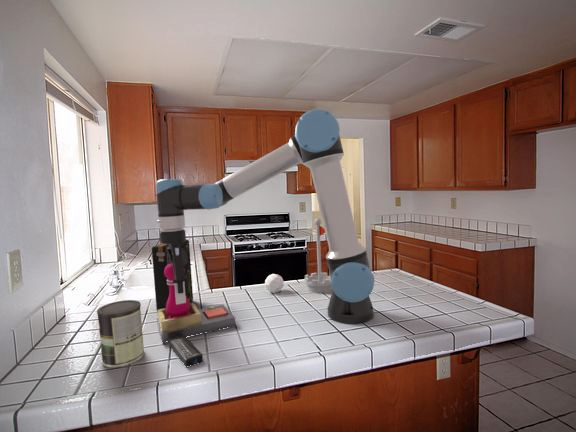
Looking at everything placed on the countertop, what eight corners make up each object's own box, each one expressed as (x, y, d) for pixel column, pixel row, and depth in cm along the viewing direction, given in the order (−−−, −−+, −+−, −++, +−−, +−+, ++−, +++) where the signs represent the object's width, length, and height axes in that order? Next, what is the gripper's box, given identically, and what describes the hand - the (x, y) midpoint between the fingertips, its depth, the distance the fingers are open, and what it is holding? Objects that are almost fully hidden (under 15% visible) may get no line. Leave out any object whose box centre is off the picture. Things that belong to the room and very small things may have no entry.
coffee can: (94, 369, 83) (89, 315, 82) (112, 350, 94) (107, 301, 92) (136, 366, 84) (132, 312, 83) (150, 347, 94) (146, 298, 93)
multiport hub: (185, 343, 97) (184, 335, 97) (203, 363, 85) (203, 354, 85) (170, 347, 94) (169, 340, 94) (186, 369, 82) (185, 360, 82)
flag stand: (298, 289, 141) (295, 219, 139) (319, 282, 150) (316, 216, 148) (321, 295, 132) (318, 220, 129) (342, 287, 141) (339, 217, 138)
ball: (279, 299, 138) (284, 287, 134) (261, 293, 138) (265, 280, 133) (282, 285, 144) (287, 273, 140) (265, 279, 144) (269, 267, 140)
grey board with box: (235, 326, 106) (234, 308, 105) (162, 343, 96) (160, 323, 96) (223, 312, 118) (222, 296, 118) (157, 326, 109) (156, 308, 108)
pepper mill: (169, 327, 100) (162, 262, 98) (165, 319, 106) (159, 258, 105) (193, 321, 103) (187, 258, 102) (189, 314, 110) (182, 254, 108)
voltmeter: (175, 315, 118) (170, 245, 116) (153, 314, 120) (147, 246, 118) (196, 300, 133) (191, 238, 131) (176, 299, 135) (171, 238, 133)
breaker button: (227, 321, 109) (226, 312, 108) (209, 325, 106) (208, 316, 106) (222, 315, 114) (221, 307, 114) (204, 319, 111) (204, 310, 111)
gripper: (155, 227, 112) (160, 289, 114) (164, 235, 89) (170, 311, 91) (178, 225, 115) (183, 285, 117) (192, 232, 93) (197, 306, 95)
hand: (177, 297), depth 104 cm, fingers open, 13 cm apart
